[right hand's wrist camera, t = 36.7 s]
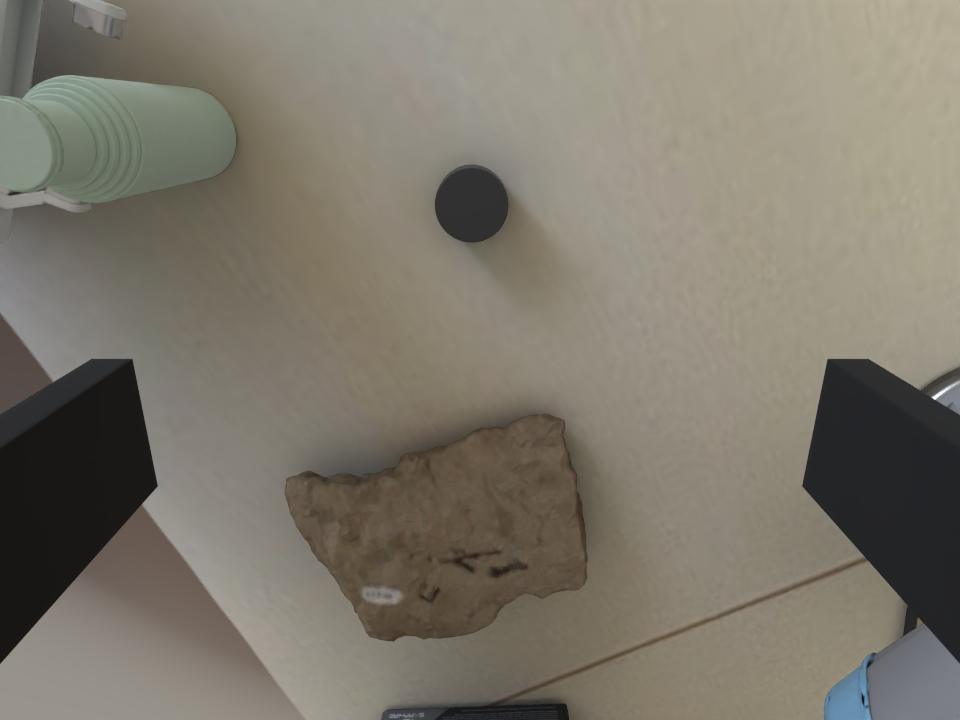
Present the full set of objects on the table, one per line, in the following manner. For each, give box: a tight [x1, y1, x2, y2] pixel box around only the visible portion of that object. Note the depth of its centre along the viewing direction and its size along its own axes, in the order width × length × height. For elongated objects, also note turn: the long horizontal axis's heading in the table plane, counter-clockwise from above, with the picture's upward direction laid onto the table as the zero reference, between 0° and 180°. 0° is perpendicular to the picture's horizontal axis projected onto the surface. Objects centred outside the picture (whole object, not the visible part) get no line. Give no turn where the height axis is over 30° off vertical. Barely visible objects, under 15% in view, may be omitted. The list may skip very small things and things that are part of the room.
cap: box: [435, 165, 508, 242], centre depth 41 cm, size 4×4×3 cm
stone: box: [285, 414, 587, 641], centre depth 48 cm, size 21×15×6 cm
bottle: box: [0, 75, 236, 203], centre depth 33 cm, size 6×6×17 cm
